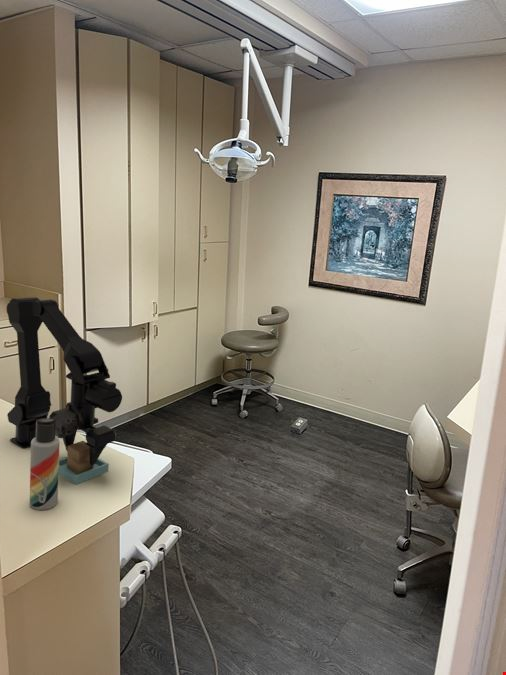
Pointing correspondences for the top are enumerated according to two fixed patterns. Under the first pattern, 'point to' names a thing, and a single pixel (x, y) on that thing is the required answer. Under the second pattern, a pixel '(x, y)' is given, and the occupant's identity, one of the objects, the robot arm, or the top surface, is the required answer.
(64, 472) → the teal tray
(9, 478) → the top surface
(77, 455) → the walnut block
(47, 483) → the lotion bottle
